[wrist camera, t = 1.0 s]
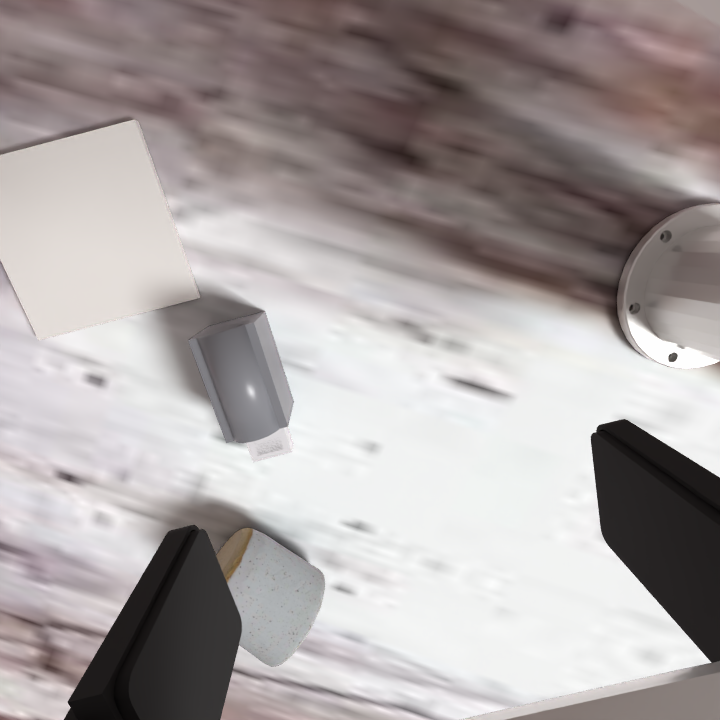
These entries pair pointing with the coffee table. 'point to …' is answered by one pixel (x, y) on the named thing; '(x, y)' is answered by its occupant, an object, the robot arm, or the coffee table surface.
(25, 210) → the felt coaster
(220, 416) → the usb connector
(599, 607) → the coffee table surface
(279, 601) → the ceramic mug
